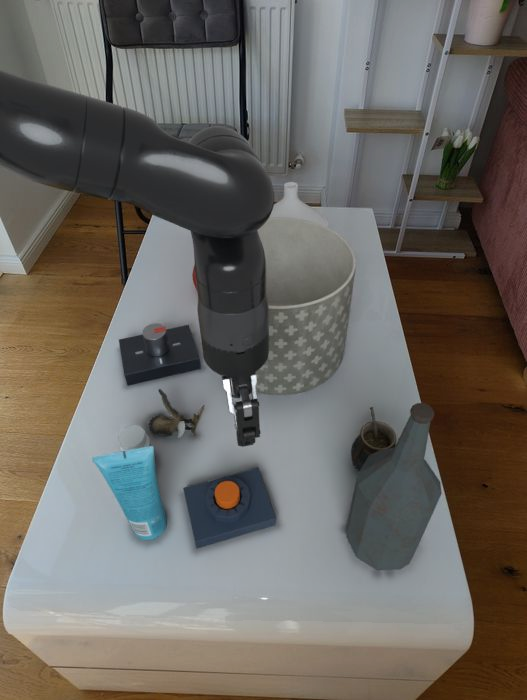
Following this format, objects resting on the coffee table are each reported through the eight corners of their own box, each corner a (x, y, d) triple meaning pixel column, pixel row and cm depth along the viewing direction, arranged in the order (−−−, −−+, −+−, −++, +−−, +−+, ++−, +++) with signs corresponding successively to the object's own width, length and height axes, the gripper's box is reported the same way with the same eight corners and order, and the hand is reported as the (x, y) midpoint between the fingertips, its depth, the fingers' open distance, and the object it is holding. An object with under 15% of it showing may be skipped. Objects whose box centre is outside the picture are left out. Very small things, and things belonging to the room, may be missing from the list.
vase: (317, 288, 116) (322, 212, 103) (240, 274, 121) (236, 199, 107) (334, 244, 129) (341, 171, 115) (264, 233, 133) (263, 161, 119)
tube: (171, 504, 80) (149, 429, 66) (177, 532, 76) (156, 461, 63) (122, 518, 78) (90, 445, 64) (126, 548, 75) (93, 477, 61)
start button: (218, 512, 75) (217, 506, 73) (213, 490, 77) (212, 484, 76) (242, 505, 75) (242, 499, 74) (236, 484, 78) (235, 477, 77)
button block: (196, 548, 75) (193, 536, 72) (184, 495, 81) (181, 481, 78) (275, 525, 77) (275, 512, 74) (258, 474, 83) (257, 460, 80)
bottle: (408, 506, 79) (458, 373, 58) (424, 571, 72) (488, 447, 51) (341, 508, 79) (365, 376, 57) (350, 573, 72) (383, 451, 50)
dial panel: (127, 386, 97) (124, 374, 95) (121, 350, 104) (118, 338, 101) (200, 369, 100) (199, 357, 97) (190, 335, 106) (188, 323, 104)
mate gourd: (362, 490, 81) (370, 454, 74) (339, 452, 86) (345, 415, 79) (402, 475, 83) (414, 438, 76) (377, 438, 88) (387, 401, 81)
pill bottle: (121, 474, 83) (110, 445, 77) (133, 450, 87) (123, 420, 81) (149, 481, 82) (139, 451, 77) (160, 456, 86) (152, 425, 80)
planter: (213, 320, 109) (202, 220, 92) (330, 313, 110) (341, 213, 93) (214, 414, 92) (200, 312, 75) (353, 404, 93) (371, 302, 76)
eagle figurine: (209, 407, 91) (162, 388, 92) (202, 404, 84) (152, 384, 85) (192, 447, 90) (145, 428, 91) (184, 448, 83) (133, 427, 84)
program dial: (148, 358, 97) (143, 340, 94) (145, 343, 100) (140, 325, 97) (171, 353, 98) (167, 335, 95) (167, 338, 101) (163, 320, 98)
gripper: (192, 289, 60) (204, 381, 72) (208, 377, 51) (220, 468, 62) (255, 280, 61) (257, 372, 73) (283, 365, 52) (280, 456, 63)
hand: (240, 416), depth 67 cm, fingers open, 8 cm apart
